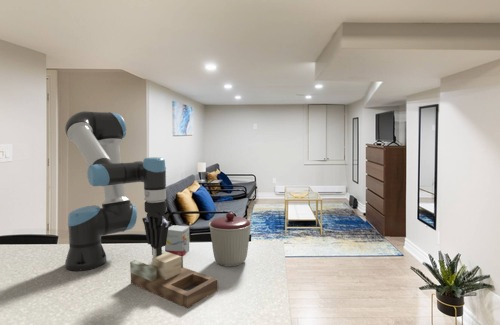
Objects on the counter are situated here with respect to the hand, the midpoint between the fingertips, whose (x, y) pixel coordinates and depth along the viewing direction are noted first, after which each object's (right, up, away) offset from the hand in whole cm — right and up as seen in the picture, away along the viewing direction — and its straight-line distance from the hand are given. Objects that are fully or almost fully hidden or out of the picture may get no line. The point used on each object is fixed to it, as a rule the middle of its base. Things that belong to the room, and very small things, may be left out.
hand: (157, 264), depth 114 cm
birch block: (+4, -2, -3) cm, 6 cm away
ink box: (+1, -4, +28) cm, 28 cm away
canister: (+26, -5, +18) cm, 32 cm away
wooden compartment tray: (+7, -7, -4) cm, 10 cm away
